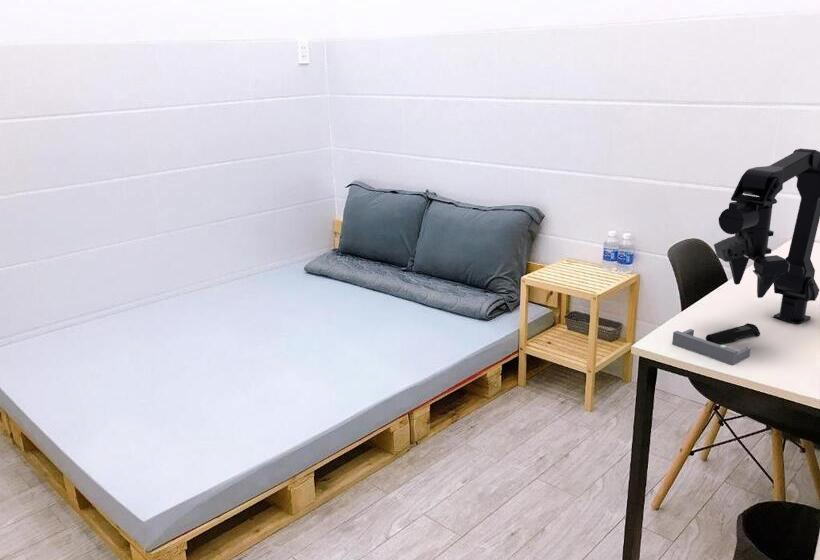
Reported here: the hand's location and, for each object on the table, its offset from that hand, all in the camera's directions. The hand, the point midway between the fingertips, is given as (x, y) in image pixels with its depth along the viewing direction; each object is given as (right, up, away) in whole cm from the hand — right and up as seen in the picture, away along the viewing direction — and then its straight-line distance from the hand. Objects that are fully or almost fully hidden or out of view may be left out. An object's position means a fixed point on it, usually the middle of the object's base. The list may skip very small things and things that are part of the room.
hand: (748, 290), depth 158 cm
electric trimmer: (-1, -12, +5) cm, 13 cm away
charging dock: (-9, -14, -1) cm, 17 cm away
